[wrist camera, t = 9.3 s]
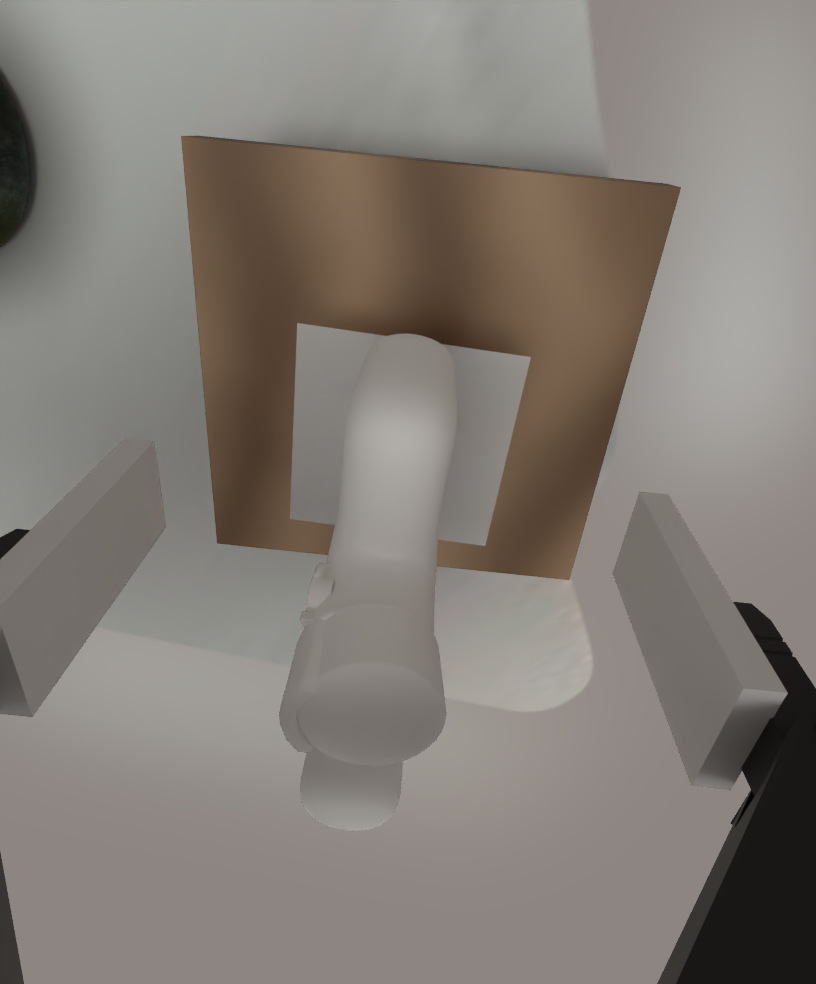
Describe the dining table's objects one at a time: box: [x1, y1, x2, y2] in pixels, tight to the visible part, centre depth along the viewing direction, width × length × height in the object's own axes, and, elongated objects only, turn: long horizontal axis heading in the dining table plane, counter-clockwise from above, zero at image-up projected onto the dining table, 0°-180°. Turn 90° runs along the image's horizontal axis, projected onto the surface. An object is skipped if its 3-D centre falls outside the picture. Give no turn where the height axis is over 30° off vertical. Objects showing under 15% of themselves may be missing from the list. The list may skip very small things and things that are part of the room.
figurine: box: [279, 323, 531, 831], centre depth 17 cm, size 7×9×15 cm
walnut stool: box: [181, 136, 681, 580], centre depth 27 cm, size 16×16×8 cm
